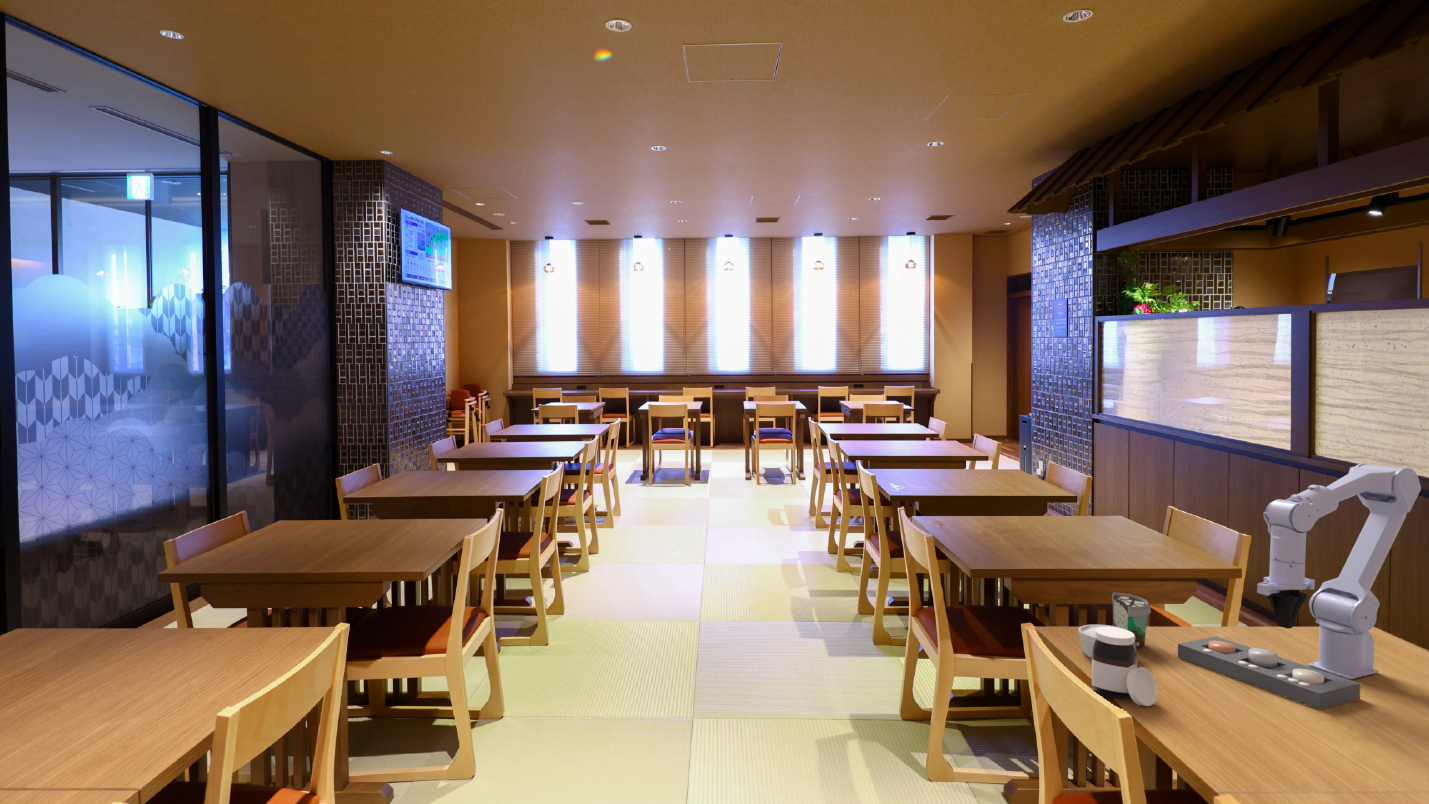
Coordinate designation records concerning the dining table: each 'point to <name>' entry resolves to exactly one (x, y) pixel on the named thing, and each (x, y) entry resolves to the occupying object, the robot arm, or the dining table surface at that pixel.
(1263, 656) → the button two
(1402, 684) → the dining table surface
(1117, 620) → the food container
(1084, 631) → the ramekin
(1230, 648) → the button one
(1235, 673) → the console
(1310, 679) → the button three
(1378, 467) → the robot arm
